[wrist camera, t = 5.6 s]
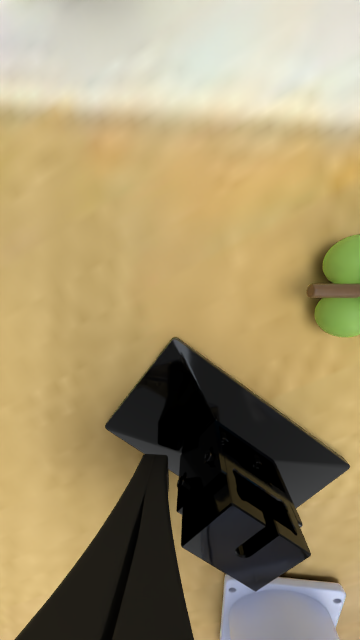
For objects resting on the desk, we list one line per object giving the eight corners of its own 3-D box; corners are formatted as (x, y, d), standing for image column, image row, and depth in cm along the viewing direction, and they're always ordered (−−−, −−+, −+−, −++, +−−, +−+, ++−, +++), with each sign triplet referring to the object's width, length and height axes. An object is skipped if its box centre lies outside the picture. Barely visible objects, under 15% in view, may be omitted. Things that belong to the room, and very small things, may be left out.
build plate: (345, 458, 11) (452, 586, 7) (259, 524, 13) (297, 663, 8) (174, 335, 10) (160, 388, 5) (103, 425, 11) (46, 524, 7)
